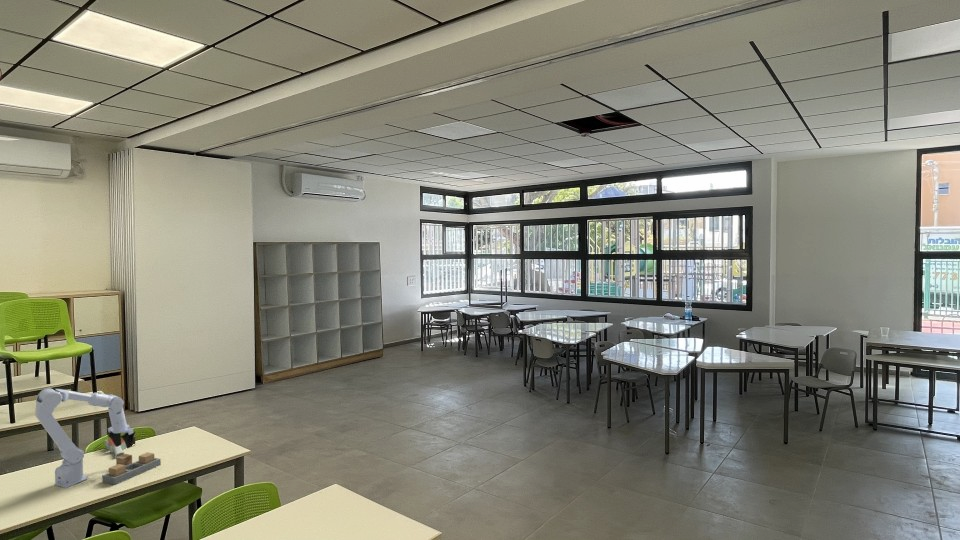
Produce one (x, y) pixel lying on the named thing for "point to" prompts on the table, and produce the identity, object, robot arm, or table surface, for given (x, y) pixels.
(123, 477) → the pocket tray
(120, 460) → the walnut block
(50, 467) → the table surface
